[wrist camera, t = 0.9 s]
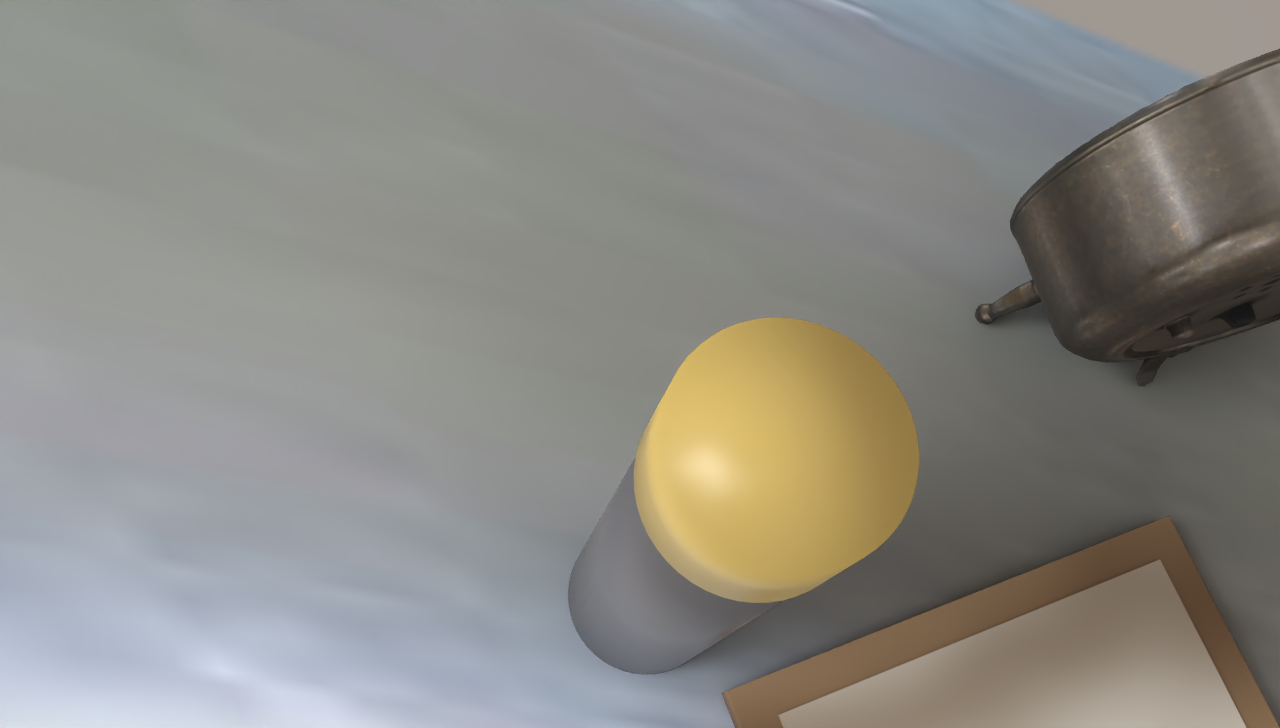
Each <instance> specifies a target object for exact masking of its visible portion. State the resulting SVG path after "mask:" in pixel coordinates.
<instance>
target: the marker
mask: <svg viewBox="0 0 1280 728" xmlns="http://www.w3.org/2000/svg"><path fill="white" fill-rule="evenodd" d="M918 471H919V446H918V439H917V432H916V429H915V425H914V421H913V417H912V415H911V412H910V410H909V407H908V405H907V402H906V400H905V398H904V397H903V395H902V393H901V391H900V389H899V387H898V386H897V384H896V383H895V382H894V380H893V379H892V377H891V376H890V375H889V373H888V372H887V371H886V370H885V369H884V367H883V366H882V365H881V364H880V363H879V362H878V361H877V360H876V359H875V358H874V357H873V356H872V355H871V354H869V353H868V352H867V351H866V350H865V349H864V348H862V347H861V346H859V345H858V344H857V343H855V342H854V341H852V340H851V339H849V338H847V337H846V336H844V335H842V334H840V333H838V332H836V331H834V330H832V329H829V328H827V327H824V326H822V325H819V324H815V323H812V322H808V321H805V320H798V319H791V318H763V319H755V320H750V321H746V322H742V323H739V324H736V325H733V326H731V327H728V328H725V329H724V330H722V331H720V332H718V333H716V334H714V335H712V336H711V337H710V338H708V339H707V340H706V341H704V342H703V343H702V344H700V345H699V346H698V347H697V348H696V349H695V350H694V351H693V352H692V353H691V354H690V355H689V356H688V357H687V358H686V360H685V361H684V362H683V364H682V365H681V366H680V368H679V369H678V371H677V372H676V374H675V376H674V378H673V380H672V382H671V383H670V385H669V387H668V389H667V391H666V392H665V394H664V396H663V398H662V400H661V401H660V403H659V405H658V407H657V409H656V410H655V412H654V414H653V416H652V418H651V419H650V421H649V423H648V425H647V427H646V428H645V430H644V432H643V435H642V437H641V440H640V443H639V445H638V449H637V453H636V457H635V459H634V461H633V462H632V464H631V466H630V468H629V469H628V471H627V473H626V475H625V476H624V478H623V480H622V482H621V483H620V485H619V487H618V489H617V490H616V492H615V494H614V496H613V497H612V499H611V501H610V503H609V504H608V506H607V508H606V510H605V511H604V513H603V515H602V517H601V518H600V520H599V522H598V524H597V525H596V527H595V529H594V531H593V533H592V534H591V536H590V538H589V540H588V541H587V543H586V545H585V547H584V548H583V550H582V552H581V554H580V555H579V557H578V559H577V561H576V563H575V565H574V568H573V570H572V573H571V577H570V581H569V590H568V601H569V608H570V613H571V617H572V620H573V623H574V626H575V628H576V630H577V632H578V634H579V636H580V637H581V639H582V640H583V642H584V643H585V644H586V646H587V647H588V648H589V649H590V650H591V651H592V652H593V653H594V654H595V655H596V656H597V657H599V658H600V659H601V660H603V661H604V662H606V663H607V664H609V665H611V666H613V667H615V668H618V669H620V670H623V671H626V672H630V673H636V674H656V673H662V672H665V671H669V670H672V669H674V668H676V667H678V666H681V665H682V664H684V663H686V662H687V661H689V660H690V659H692V658H693V657H695V656H697V655H698V654H700V653H701V652H703V651H704V650H706V649H708V648H709V647H711V646H712V645H714V644H716V643H717V642H719V641H720V640H722V639H723V638H725V637H727V636H728V635H730V634H731V633H733V632H735V631H736V630H738V629H739V628H741V627H742V626H744V625H746V624H747V623H749V622H750V621H752V620H754V619H755V618H757V617H758V616H760V615H761V614H763V613H765V612H766V611H768V610H769V609H771V608H772V607H774V606H776V605H777V604H779V603H780V602H782V601H784V600H787V599H790V598H793V597H797V596H799V595H801V594H804V593H806V592H808V591H810V590H812V589H814V588H815V587H817V586H819V585H820V584H822V583H824V582H825V581H827V580H828V579H830V578H832V577H833V576H835V575H837V574H838V573H840V572H841V571H843V570H845V569H846V568H848V567H850V566H851V565H853V564H854V563H856V562H858V561H859V560H861V559H863V558H864V557H866V556H867V555H869V554H870V553H872V552H873V551H875V550H876V549H877V548H878V547H879V546H881V545H882V544H883V543H884V542H885V541H886V540H887V539H888V538H889V537H890V536H891V534H892V533H893V532H894V531H895V530H896V529H897V527H898V526H899V524H900V523H901V521H902V519H903V518H904V516H905V514H906V513H907V510H908V508H909V506H910V503H911V501H912V499H913V495H914V492H915V488H916V484H917V478H918Z"/></svg>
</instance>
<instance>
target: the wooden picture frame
mask: <svg viewBox="0 0 1280 728" xmlns="http://www.w3.org/2000/svg"><path fill="white" fill-rule="evenodd" d="M722 695H723V697H724V700H725V702H726V705H727V707H728V710H729V713H730V715H731V718H732V720H733V723H734V725H735V728H1280V727H1279V725H1278V724H1277V722H1276V720H1275V718H1274V716H1273V714H1272V712H1271V710H1270V708H1269V706H1268V704H1267V702H1266V701H1265V699H1264V697H1263V695H1262V693H1261V691H1260V689H1259V687H1258V685H1257V683H1256V681H1255V679H1254V678H1253V676H1252V674H1251V672H1250V670H1249V668H1248V666H1247V664H1246V662H1245V660H1244V658H1243V656H1242V655H1241V653H1240V651H1239V649H1238V647H1237V645H1236V643H1235V641H1234V639H1233V637H1232V635H1231V634H1230V632H1229V630H1228V628H1227V626H1226V624H1225V622H1224V620H1223V618H1222V616H1221V614H1220V612H1219V611H1218V609H1217V607H1216V605H1215V603H1214V601H1213V599H1212V597H1211V595H1210V593H1209V591H1208V589H1207V588H1206V586H1205V584H1204V582H1203V580H1202V578H1201V576H1200V574H1199V572H1198V570H1197V568H1196V566H1195V565H1194V563H1193V561H1192V559H1191V557H1190V555H1189V553H1188V551H1187V549H1186V547H1185V545H1184V544H1183V542H1182V540H1181V538H1180V536H1179V534H1178V532H1177V530H1176V528H1175V526H1174V524H1173V522H1172V521H1171V519H1170V517H1169V516H1167V517H1165V518H1162V519H1160V520H1157V521H1155V522H1152V523H1150V524H1147V525H1145V526H1142V527H1139V528H1137V529H1134V530H1132V531H1129V532H1127V533H1124V534H1122V535H1119V536H1117V537H1114V538H1112V539H1109V540H1107V541H1104V542H1102V543H1099V544H1097V545H1094V546H1092V547H1089V548H1086V549H1084V550H1081V551H1079V552H1076V553H1074V554H1071V555H1069V556H1066V557H1064V558H1061V559H1059V560H1056V561H1054V562H1051V563H1049V564H1046V565H1044V566H1041V567H1039V568H1036V569H1033V570H1031V571H1028V572H1026V573H1023V574H1021V575H1018V576H1016V577H1013V578H1011V579H1008V580H1006V581H1003V582H1001V583H998V584H996V585H993V586H991V587H988V588H986V589H983V590H980V591H978V592H975V593H973V594H970V595H968V596H965V597H963V598H960V599H958V600H955V601H953V602H950V603H948V604H945V605H943V606H940V607H938V608H935V609H933V610H930V611H927V612H925V613H922V614H920V615H917V616H915V617H912V618H910V619H907V620H905V621H902V622H900V623H897V624H895V625H892V626H890V627H887V628H885V629H882V630H880V631H877V632H874V633H872V634H869V635H867V636H864V637H862V638H859V639H857V640H854V641H852V642H849V643H847V644H844V645H842V646H839V647H837V648H834V649H832V650H829V651H827V652H824V653H821V654H819V655H816V656H814V657H811V658H809V659H806V660H804V661H801V662H799V663H796V664H794V665H791V666H789V667H786V668H784V669H781V670H779V671H776V672H774V673H771V674H768V675H766V676H763V677H761V678H758V679H756V680H753V681H751V682H748V683H746V684H743V685H741V686H738V687H736V688H733V689H731V690H728V691H726V692H724V693H722Z"/></svg>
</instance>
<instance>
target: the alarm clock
mask: <svg viewBox="0 0 1280 728" xmlns="http://www.w3.org/2000/svg"><path fill="white" fill-rule="evenodd" d="M1010 228H1011V231H1012V234H1013V236H1014V237H1015V239H1016V241H1017V242H1018V244H1019V247H1020V249H1021V251H1022V254H1023V256H1024V258H1025V261H1026V263H1027V266H1028V268H1029V271H1030V273H1031V276H1032V278H1033V280H1031V281H1029V282H1027V283H1024V284H1022V285H1020V286H1018V287H1017V288H1015V289H1013V290H1012V291H1010V292H1009V293H1008V294H1006V295H1004V296H1003V297H1001V298H1000V299H999V300H997V301H996V302H994V303H993V304H982V305H980V306H978V308H977V310H976V313H975V317H976V319H977V320H978V321H979V322H980V323H983V324H989V323H991V322H993V321H994V320H995V319H996V318H997V317H998V316H1001V315H1003V314H1006V313H1010V312H1013V311H1016V310H1019V309H1023V308H1026V307H1030V306H1032V305H1035V304H1037V303H1040V302H1042V304H1043V306H1044V309H1045V311H1046V314H1047V316H1048V319H1049V321H1050V323H1051V326H1052V328H1053V331H1054V333H1055V336H1056V337H1057V338H1058V340H1059V342H1060V343H1061V344H1062V346H1063V347H1064V348H1066V349H1067V350H1069V351H1070V352H1072V353H1074V354H1076V355H1079V356H1081V357H1084V358H1086V359H1090V360H1094V361H1101V362H1124V361H1133V360H1140V359H1145V358H1146V359H1145V361H1144V363H1143V365H1142V366H1141V368H1140V370H1139V372H1138V374H1137V381H1138V385H1139V386H1145V385H1147V384H1149V383H1150V382H1151V381H1152V380H1153V379H1154V377H1155V375H1156V373H1157V370H1158V368H1159V367H1160V365H1161V364H1162V363H1163V362H1164V361H1165V360H1166V358H1167V357H1174V356H1176V355H1177V354H1179V353H1182V352H1186V351H1189V350H1190V349H1192V348H1193V347H1195V346H1199V345H1202V344H1206V343H1209V342H1213V341H1216V340H1219V339H1222V338H1225V337H1229V336H1232V335H1235V334H1238V333H1241V332H1244V331H1247V330H1250V329H1253V328H1256V327H1259V326H1262V325H1265V324H1268V323H1270V322H1273V321H1276V320H1279V319H1280V49H1278V50H1275V51H1272V52H1269V53H1266V54H1264V55H1261V56H1259V57H1256V58H1253V59H1251V60H1248V61H1245V62H1243V63H1240V64H1238V65H1236V66H1233V67H1230V68H1228V69H1225V70H1223V71H1220V72H1217V73H1215V74H1212V75H1209V76H1207V77H1205V78H1203V79H1201V80H1199V81H1197V82H1195V83H1192V84H1190V85H1187V86H1184V87H1183V88H1181V89H1180V90H1179V91H1177V92H1175V93H1172V94H1169V95H1167V96H1166V97H1164V98H1162V99H1161V100H1159V101H1157V102H1155V103H1153V104H1151V105H1150V106H1148V107H1145V108H1142V109H1140V110H1139V111H1137V112H1136V113H1134V114H1132V115H1131V116H1129V117H1127V118H1126V119H1124V120H1122V121H1120V122H1119V123H1117V124H1116V125H1114V126H1113V127H1111V128H1109V129H1107V130H1105V131H1103V132H1102V133H1100V134H1099V135H1097V136H1096V137H1094V138H1093V139H1091V140H1090V141H1089V142H1087V143H1085V144H1083V145H1082V146H1080V147H1079V148H1078V149H1076V150H1075V151H1073V152H1072V153H1071V154H1069V155H1068V156H1067V157H1065V158H1064V159H1063V160H1061V161H1059V162H1058V163H1056V164H1055V165H1054V166H1053V167H1052V168H1051V169H1050V170H1048V171H1047V172H1046V173H1045V174H1044V175H1043V176H1042V177H1041V178H1040V179H1039V180H1038V181H1037V182H1036V183H1035V184H1033V185H1032V186H1031V187H1030V189H1029V190H1028V191H1027V192H1026V193H1025V194H1024V195H1023V196H1022V198H1021V199H1020V201H1019V202H1018V204H1017V205H1016V207H1015V210H1014V212H1013V215H1012V217H1011V220H1010Z"/></svg>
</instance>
